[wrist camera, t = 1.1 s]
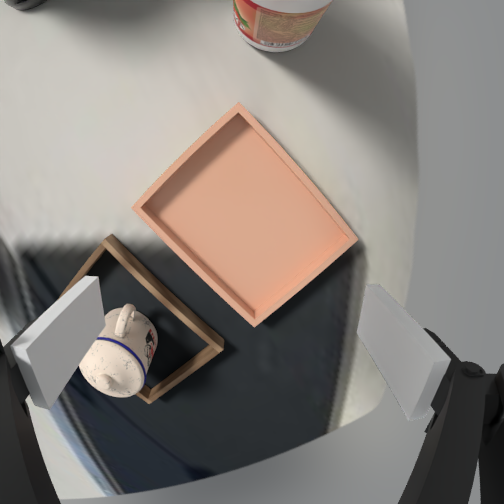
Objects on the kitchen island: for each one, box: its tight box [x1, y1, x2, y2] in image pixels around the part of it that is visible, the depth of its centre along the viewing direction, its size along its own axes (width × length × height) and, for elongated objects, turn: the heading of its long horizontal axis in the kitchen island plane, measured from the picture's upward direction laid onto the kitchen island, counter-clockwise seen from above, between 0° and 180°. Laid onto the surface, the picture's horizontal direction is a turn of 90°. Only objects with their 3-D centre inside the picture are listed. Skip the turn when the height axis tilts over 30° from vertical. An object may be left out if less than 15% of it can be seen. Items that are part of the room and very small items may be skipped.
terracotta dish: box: [131, 102, 358, 327], centre depth 36 cm, size 21×17×3 cm
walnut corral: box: [58, 234, 224, 404], centre depth 40 cm, size 21×17×2 cm
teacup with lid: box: [79, 304, 158, 397], centre depth 36 cm, size 12×9×12 cm
